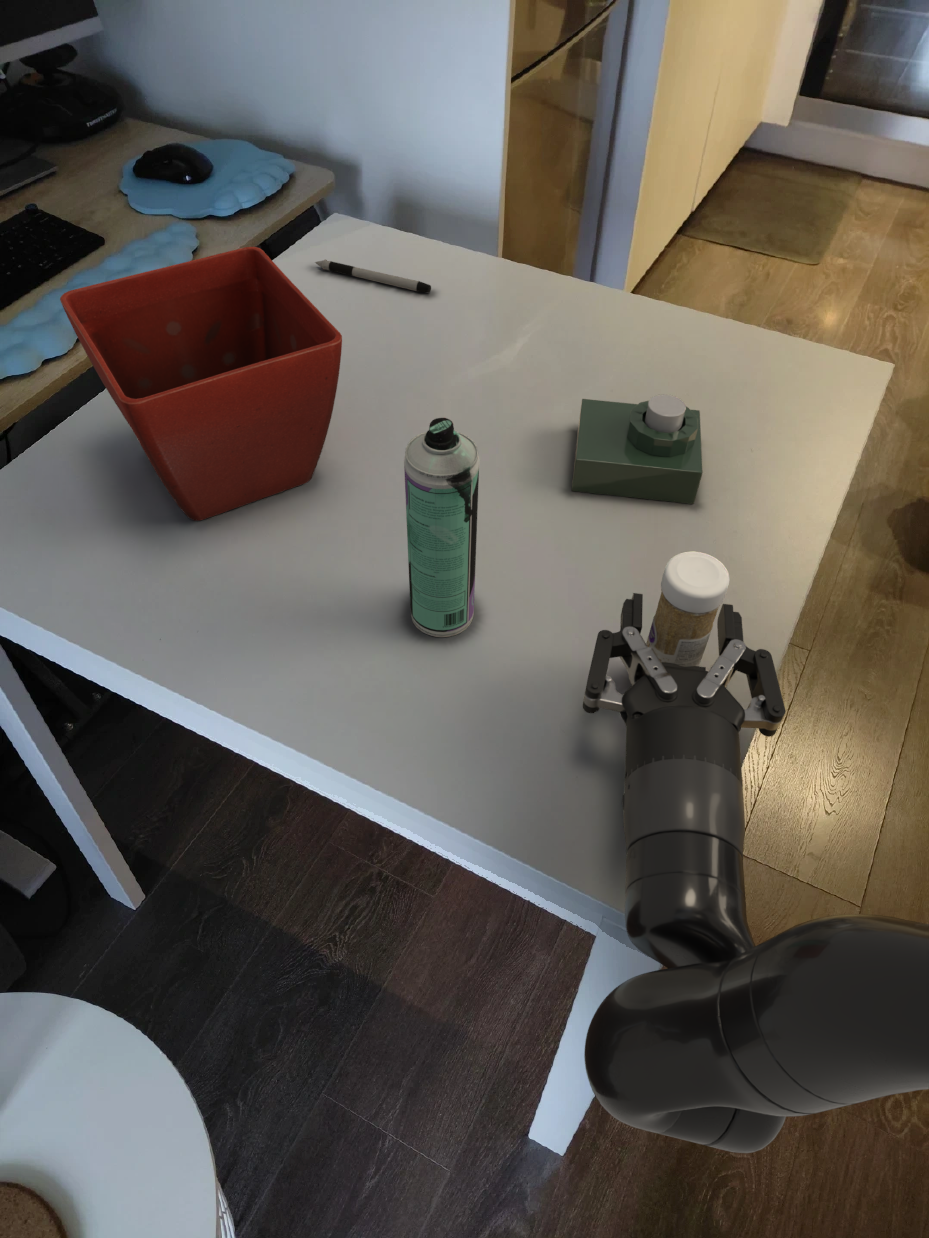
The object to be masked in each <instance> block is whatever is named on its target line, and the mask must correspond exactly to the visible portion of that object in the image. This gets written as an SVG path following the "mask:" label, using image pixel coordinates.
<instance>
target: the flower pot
mask: <svg viewBox="0 0 929 1238" xmlns="http://www.w3.org/2000/svg"><path fill="white" fill-rule="evenodd" d="M59 301H60V304H61V305H62V308H63V310H64V312H65V315H66V317H67V319H68V321H69V323H70V325H71V327H72V329H73V332H74V333H75V335H76V337H77V339H78V341H79V343H80V345H81V346H82V348H83V350H84V352H85V354H86V355H87V357H88V359H89V362H90V363H91V365H92V366H93V369H94V370H95V372H96V373H97V375H98V377H99V379H100V380H101V382H102V384H103V386H104V388H105V389H106V390H107V392H108V394H109V395H110V397H111V399H112V400H113V402H114V404H115V405H116V407H117V409H118V410H119V412H120V413H121V415H122V416H123V418H124V420H125V421H126V422H127V424H128V426H129V428H130V429H131V430H132V432H133V434H134V435H135V438H136V439H137V441H138V443H139V445H140V446H141V448H142V449H143V451H144V454H145V455H146V457H147V459H148V461H149V462H150V465H151V467H153V469H154V471H155V473H156V474H157V476H158V478H159V479H160V482H162V484H163V486H164V487H165V489H166V490H167V492H168V493H169V495H170V496H171V498H172V500H174V502H175V503H176V505H177V506H178V508H179V509H180V510H181V511H182V512H183V513H184V514H185V516H186V517H187V518H189V520H192V521H194V522H196V521H197V522H198V521H199V522H200V521H202V520H203V521H204V520H206V519H209V518H212V517H215V516H217V515H220V514H223V513H226V512H230V511H232V510H234V509H237V508H241V507H243V506H246V505H248V504H251V503H254V502H256V501H260V500H262V499H265V498H269V497H271V496H274V495H277V494H279V493H283V492H285V491H288V490H291V489H293V488H296V487H298V486H302V485H304V484H307V483H309V482H310V481H311V480H312V478H313V476H314V473H315V471H316V470H317V469H316V468H317V466H318V463H319V460H320V457H321V455H322V452H323V448H324V445H325V442H326V439H327V435H328V432H329V428H330V424H331V420H332V417H333V416H332V415H333V410H334V407H335V402H336V395H337V391H338V389H337V388H338V385H339V384H338V383H339V376H340V369H341V368H340V367H341V360H342V348H343V335H342V333H341V332H340V331H339V330H338V329H337V328H336V327H335V325H334V324H333V323H331V322H330V321H329V320H328V319H327V317H326V316H324V315H323V313H322V312H321V311H320V310H319V309H318V308H317V306H315V305H314V304H313V303H312V301H311V300H309V298H308V297H307V296H306V295H304V293H303V292H302V290H300V289H299V288H298V287H297V285H295V284H294V283H293V282H292V281H291V279H289V277H288V276H287V275H286V274H285V273H284V272H283V270H281V268H279V266H278V265H277V264H276V263H275V262H274V261H273V260H272V259H271V257H269V255H268V254H267V253H265V251H264V250H263V249H262V248H260V247H257V246H244V247H241V248H237V249H233V250H229V251H225V252H220V253H216V254H212V255H208V256H205V257H200V258H196V259H192V260H189V261H184V262H181V263H180V262H179V263H177V264H172V265H168V266H165V267H160V268H155V269H152V270H148V271H144V272H139V273H135V274H132V275H127V276H124V277H119V278H115V279H111V280H108V281H102V282H98V283H94V284H91V285H87V286H83V287H79V288H74V289H71V290H68V291H66V292H64V293H63V294H62V295H61V296H60V298H59Z"/></svg>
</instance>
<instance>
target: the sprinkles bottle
mask: <svg viewBox="0 0 929 1238" xmlns="http://www.w3.org/2000/svg"><path fill="white" fill-rule="evenodd" d="M730 579H731V578H730V573H729V571H728V570H727V568H726V565H724V563H723V562H722V561H720V560H719V559H717V558H716V557H715V556H713V555H710V554H708V553H705V552H700V551H683V552H679V553H677V554H675V555H674V556H672V557H671V558H669V560H668V561H667V563H666V565H665V567H664V570H663V573H662V577H661V582H660V591H661V593H660V596H659V600H658V602H657V607H656V609H655V614H654V616H653V618H652V622H651V625H650V629H649V632H648V635H647V639H646V641H645V643H646V645H647V646H648V647H652V648H653V650H654V651H655V653H656V655H657V656H658V658H659V660H660V661H661V663H662V662H666V663H673V664H676V665H679V666H682V667H689V666H699V667H700V664H701V662H702V659H703V656H704V652H705V650H706V648H707V645H708V642H709V638H710V635H711V634H712V631H713V626H714V622H715V620H716V617H717V613H718V609H719V608H720V606H722V604H723V602H724V601H725V598H726V595H727V592H728V589H729V585H730Z"/></svg>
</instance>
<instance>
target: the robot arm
mask: <svg viewBox="0 0 929 1238" xmlns="http://www.w3.org/2000/svg"><path fill="white" fill-rule="evenodd" d="M643 597H644V595H643V593H637V592H632V596H631V598H626V599H625V600H624V601H623V604H622V608H621V612H620V624H619V625H620V626H619V631H617V632H616V631H615V632H612V631H611V630H608V629H602V630H600V631H598V633H597V636H596V641H595V644H594V649H593V654H592V658H591V661H590V667H589V671H588V674H587V675H588V676H587V679H586V684H585V690H584V693H583V694H584V695H583V700H582V705H581V707H582V709H583V711H584V712H586V713H588V714H596V713H597V712H598V711H599V710H600V709H603V710H608V711H613V712H618V713H619V715H620V717H621V719H622V720H623V722H624V725H625V729H626V731H625V759H624V761H625V762H624V790H623V791H624V792H623V794H622V798H621V804H622V811H623V832H624V839H625V850H626V851H625V854H626V855H625V884H624V885H625V886H624V925H625V931H626V934H627V936H628V939H629V940H630V942H631V944H632V945H633V946H634V947H635V948H636V949H637V950H638V951H640V953H642V954H644V955H645V956H647V957H649V959H652V960H654V961H656V962H657V963H659V964H660V965H661V966H663V967H665V968H663V969H657V970H652V971H648V972H644V973H641V974H638V975H635V976H633V977H631V978H628V979H627V980H625V981H623V982H622V983H620V984H619V985H617V986H616V987H615V988H614V989H613V990H611V991H610V992H609V993H608V994H607V996H606V997H605V998H603V1000H602V1001H601V1003H600V1004H599V1006H598V1007H597V1008H596V1011H595V1012H594V1014H593V1016H592V1018H591V1021H590V1022H589V1026H588V1028H587V1032H586V1037H585V1041H584V1053H583V1054H584V1055H583V1058H584V1067H585V1068H584V1069H585V1073H586V1076H587V1080H588V1083H589V1086H590V1088H591V1091H592V1093H593V1095H594V1096H595V1098H596V1099H597V1101H598V1103H599V1104H600V1105H601V1106H602V1108H603V1109H604V1110H605V1111H606V1112H607V1113H608V1114H609V1115H611V1116H612V1118H614V1119H615V1120H617V1121H619V1122H620V1123H622V1124H625V1125H627V1126H630V1127H631V1128H635V1129H638V1130H642V1131H646V1132H650V1133H653V1134H659V1135H662V1136H667V1137H669V1138H670V1137H671V1138H675V1139H677V1140H678V1139H679V1140H682V1141H686V1142H691V1143H695V1144H697V1145H698V1144H699V1145H703V1146H707V1147H711V1148H714V1149H717V1150H721V1151H726V1152H731V1153H738V1154H751V1153H755V1152H758V1151H761V1150H763V1149H765V1148H766V1147H768V1145H769V1144H771V1143H772V1142H773V1141H774V1140H775V1139H776V1138H777V1136H778V1134H779V1133H780V1131H781V1130H782V1128H783V1126H784V1124H785V1122H786V1118H787V1117H804V1116H809V1115H814V1114H819V1113H823V1112H828V1111H831V1110H836V1109H840V1108H844V1107H848V1106H851V1105H855V1104H856V1105H857V1104H860V1103H864V1102H868V1101H871V1100H876V1099H880V1098H884V1097H889V1096H893V1095H894V1096H895V1095H898V1094H905V1093H909V1092H915V1091H923V1090H929V923H924V922H920V921H915V920H909V919H904V918H900V917H895V916H890V915H889V916H888V915H883V914H882V915H881V914H868V913H843V914H831V915H826V916H821V917H817V918H813V919H809V920H805V921H803V922H801V923H798V924H795V925H793V926H791V927H789V928H788V929H785V930H784V931H781V932H780V933H777V934H775V935H774V936H772V937H770V938H767V939H766V940H764V941H763V942H761V943H759V944H757V945H756V943H755V940H754V938H753V935H752V933H751V932H752V931H751V929H750V926H749V923H748V917H747V916H748V915H747V903H746V902H747V901H746V888H745V869H744V848H745V847H744V845H745V837H746V835H745V834H746V821H745V820H746V816H745V800H744V799H745V797H744V786H743V774H742V773H743V771H742V756H741V755H742V754H741V741H740V731H741V730H742V729H758V731H759V733H760V734H761V735H762V736H763V737H764V736H765V737H769V738H770V737H773V736H775V734H776V733H777V732H778V729H779V727H780V725H781V724H782V721H783V719H784V716H785V715H786V713H787V712H786V711H787V710H786V706H785V703H784V699H783V698H784V697H783V695H782V691H781V687H780V683H779V679H778V676H777V671H776V668H775V664H774V660H773V659H774V658H773V656H772V654H771V652H770V651H769V650H767V649H764V648H758V649H756V650H755V649H751V648H749V647H748V646H747V645H746V643H745V641H744V630H743V629H744V628H743V617H742V616H741V614H740V612H739V611H734V605H733V604H730V603H729V604H728V603H722V604H721V607H720V611H719V612H718V616H717V622H716V624H717V625H716V627H717V646H718V647H717V648H718V657H717V658H716V660H715V662H714V663H713V664H712V666H711V667H710V669H709V670H707V668H706V666H700V665H699V666H689V667H682V666H679V665H676V664H673V663H666V662H662V663H661V661H660V660H659V658H658V656H657V655H656V653H655V651H654V650H653V648H652V647H648V646H647V645H646V641H645V640H644V638H643V636H642V634H641V633H642V631H643V630H642V629H643V602H644V599H643ZM613 658H620V660H621V663H622V664H623V666H624V667H625V669H626V671H627V677H628V680H629V682H630V684H631V686H630V687H629V688H628V689H627V690H626V691H625V692H624V693H623V694H622V693H620V692H619V691H618V690H617V687H616V686H617V685H616V681H614V680H613V677H611V676H610V675H607V673H608V668H609V665H610V664H609V663H610V659H613ZM736 672H739V673H742V674H743V675H746V680H747V684H748V688H749V693H750V696H751V697H750V698H751V699H750V701H749V704H748V706H747V708H745V709H744V707H743V706H742V704H741V703H740V702H739V701H738V700H737V698H735V696H734V695H733V694H732V693H731V692H730V691H729V690H728V689H727V687H728V685H729V683H730V682H731V680H732V678H733V677H734V676H735V675H736Z"/></svg>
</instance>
